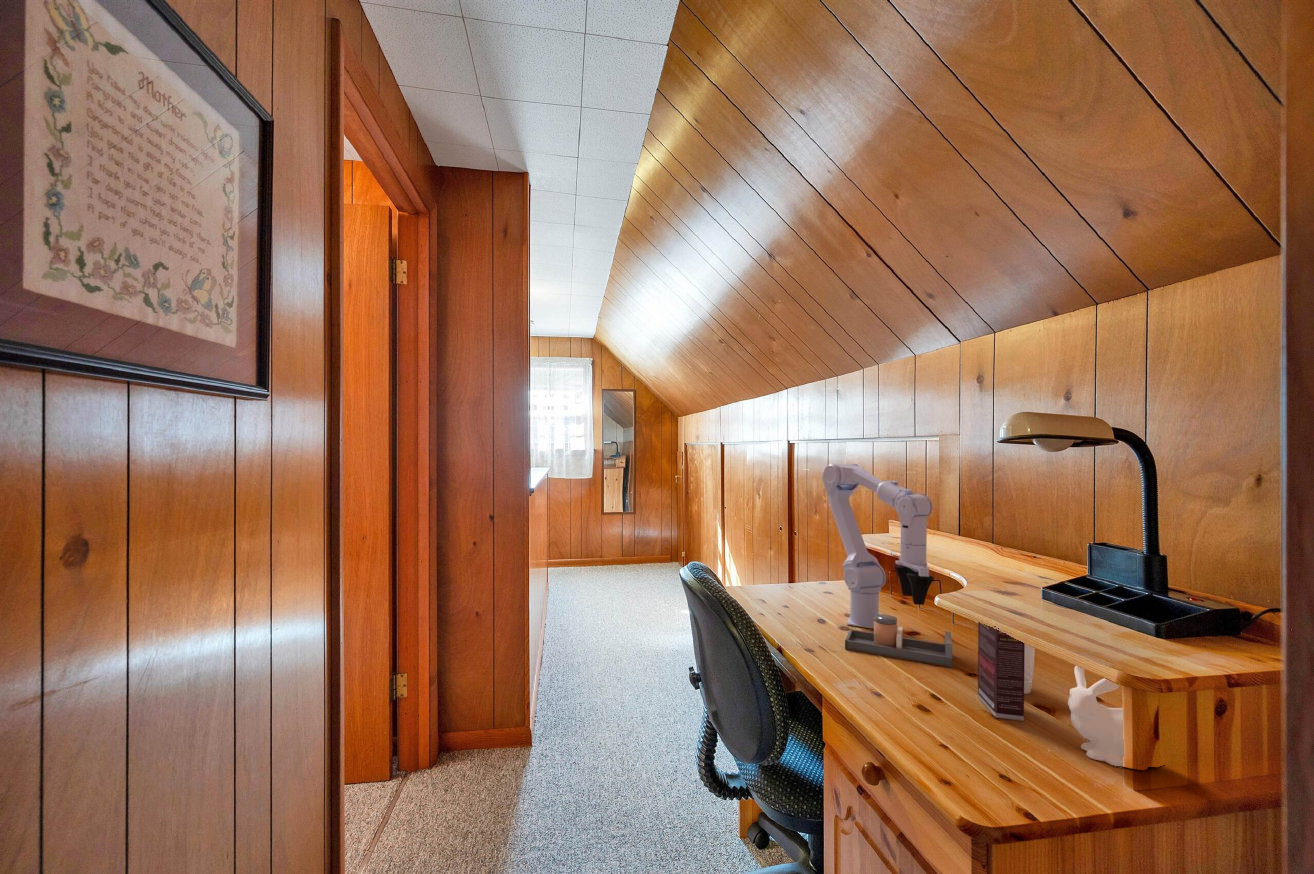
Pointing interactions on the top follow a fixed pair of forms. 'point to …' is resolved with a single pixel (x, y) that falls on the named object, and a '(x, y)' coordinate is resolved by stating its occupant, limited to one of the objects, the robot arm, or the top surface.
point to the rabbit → (1097, 720)
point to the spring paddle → (899, 637)
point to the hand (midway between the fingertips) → (912, 599)
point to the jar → (885, 630)
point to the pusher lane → (903, 648)
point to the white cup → (1028, 668)
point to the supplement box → (1001, 673)
